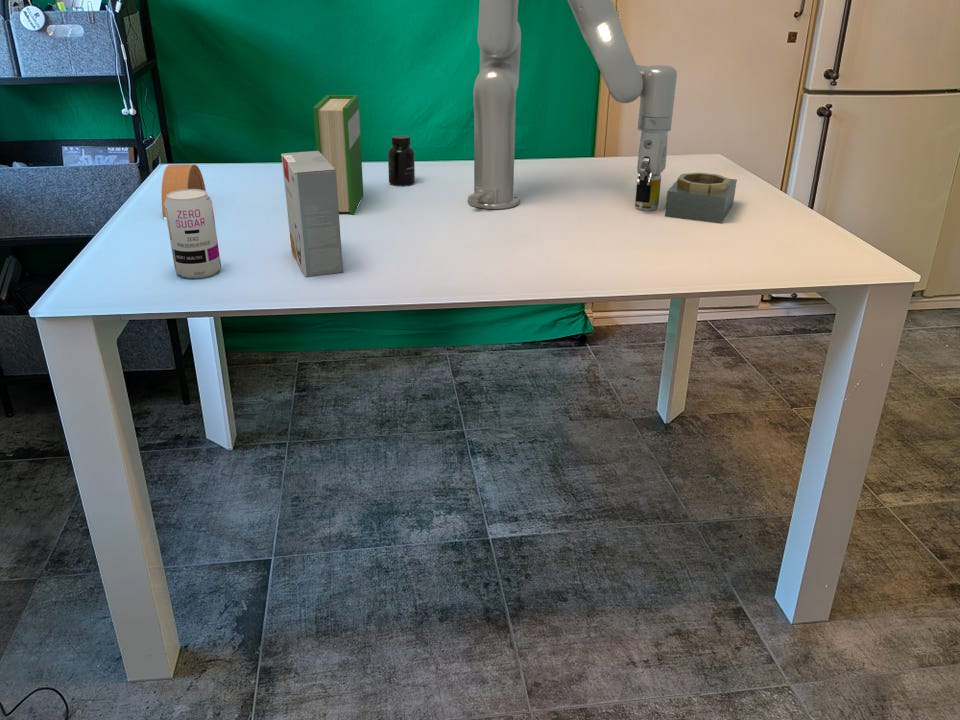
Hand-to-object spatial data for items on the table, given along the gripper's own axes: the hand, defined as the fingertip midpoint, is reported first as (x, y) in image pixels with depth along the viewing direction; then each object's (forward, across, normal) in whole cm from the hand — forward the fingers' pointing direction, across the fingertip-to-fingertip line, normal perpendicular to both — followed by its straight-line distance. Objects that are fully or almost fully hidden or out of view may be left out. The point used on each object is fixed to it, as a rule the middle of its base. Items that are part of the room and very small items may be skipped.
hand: (647, 196), depth 195 cm
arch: (+3, -46, +99) cm, 109 cm away
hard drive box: (+3, -65, +50) cm, 82 cm away
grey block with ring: (+3, +6, -12) cm, 14 cm away
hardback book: (+3, -28, +67) cm, 73 cm away
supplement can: (+3, -79, +67) cm, 104 cm away
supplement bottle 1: (+3, -4, +64) cm, 64 cm away
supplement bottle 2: (+3, 0, 0) cm, 3 cm away
